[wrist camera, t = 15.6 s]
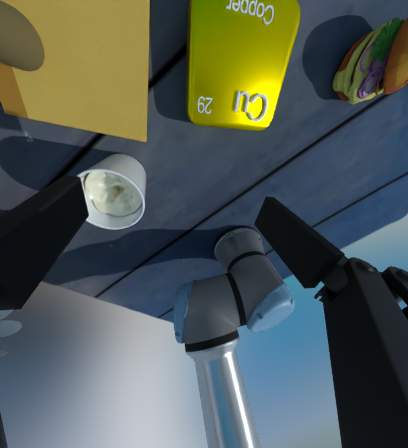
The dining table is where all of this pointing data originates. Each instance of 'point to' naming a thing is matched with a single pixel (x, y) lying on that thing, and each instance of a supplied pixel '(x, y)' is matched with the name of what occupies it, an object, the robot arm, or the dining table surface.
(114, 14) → the towel
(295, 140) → the dining table surface
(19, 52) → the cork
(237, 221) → the dining table surface
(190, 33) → the element tile
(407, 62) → the cheeseburger
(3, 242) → the robot arm
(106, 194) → the candle holder
